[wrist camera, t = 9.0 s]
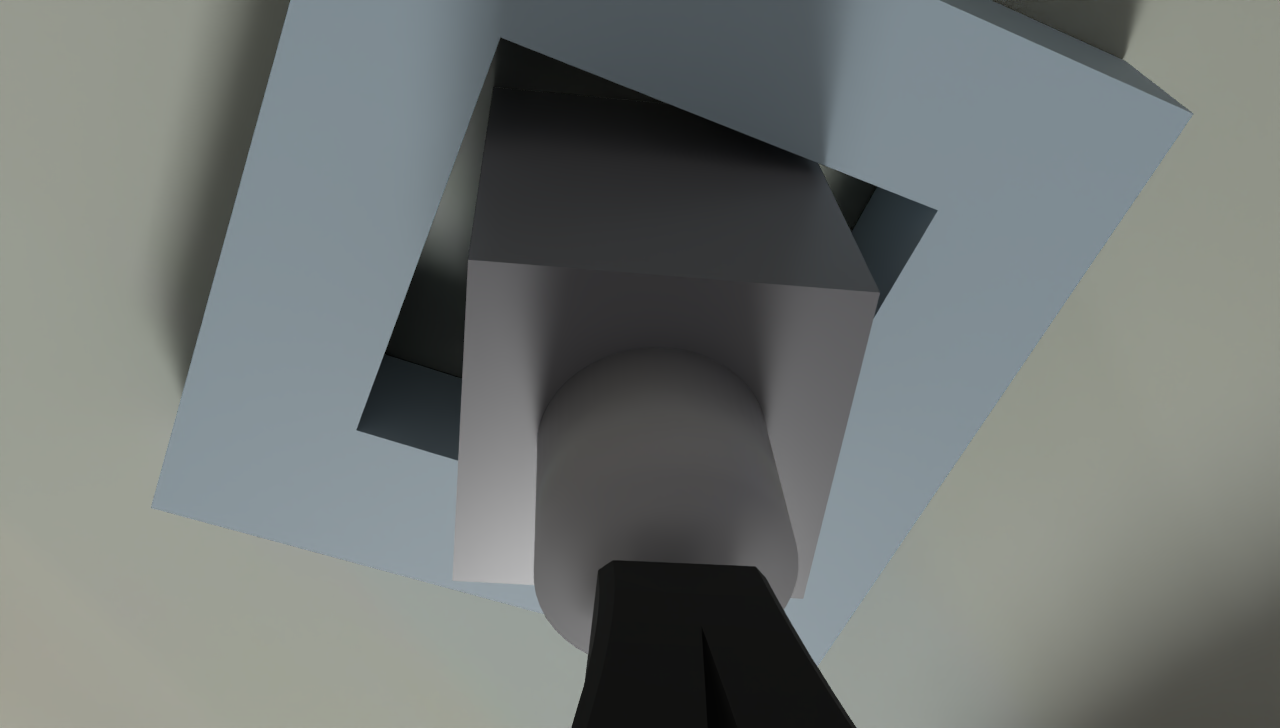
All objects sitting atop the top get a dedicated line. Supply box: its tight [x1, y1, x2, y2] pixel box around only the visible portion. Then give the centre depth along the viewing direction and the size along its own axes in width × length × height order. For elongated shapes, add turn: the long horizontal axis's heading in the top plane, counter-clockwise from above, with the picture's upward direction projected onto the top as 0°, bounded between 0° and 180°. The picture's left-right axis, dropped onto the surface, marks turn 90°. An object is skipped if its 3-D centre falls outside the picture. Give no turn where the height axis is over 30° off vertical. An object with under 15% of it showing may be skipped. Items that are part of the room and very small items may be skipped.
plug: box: [452, 87, 880, 654], centre depth 14 cm, size 4×4×7 cm
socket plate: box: [151, 0, 1193, 666], centre depth 16 cm, size 10×10×2 cm
